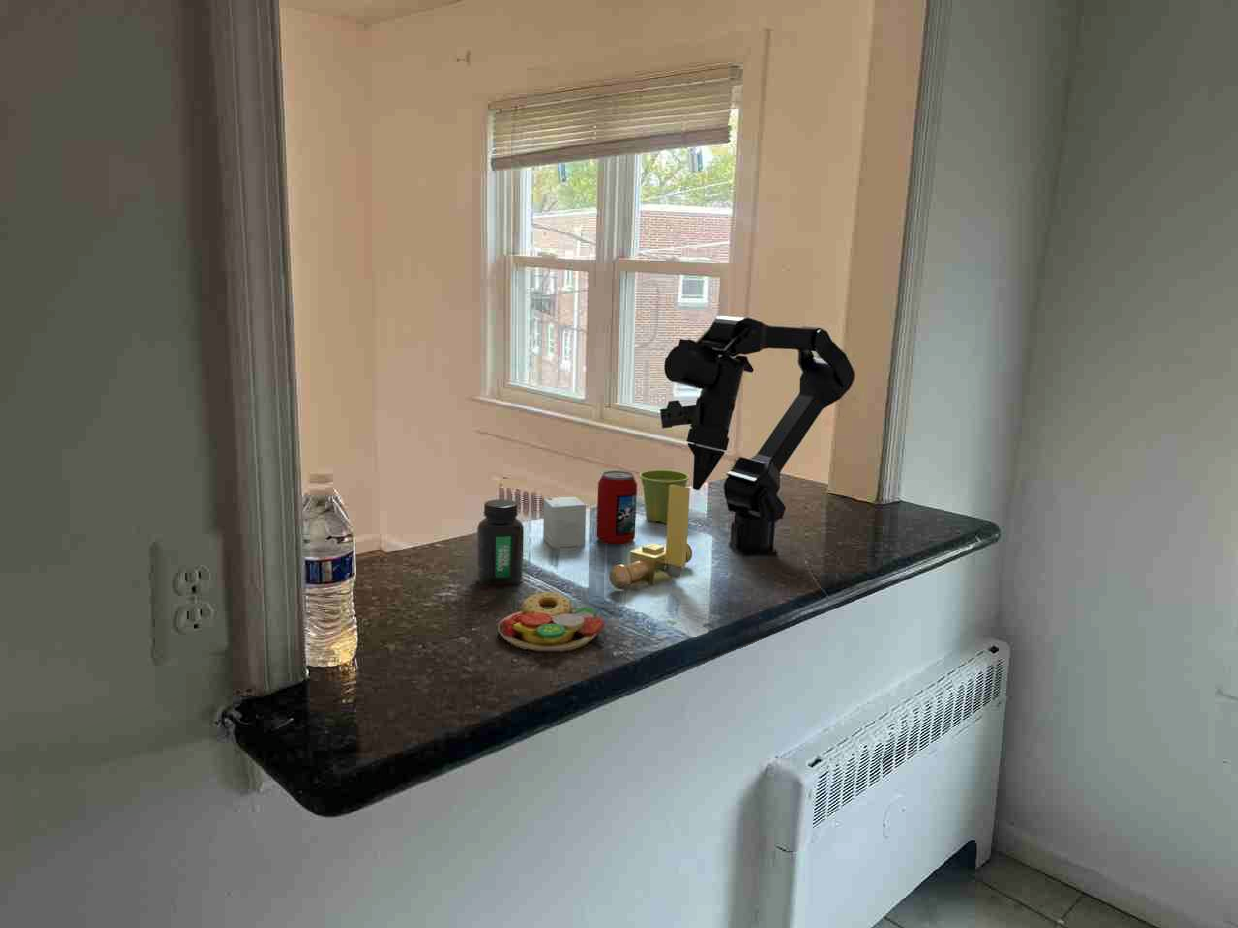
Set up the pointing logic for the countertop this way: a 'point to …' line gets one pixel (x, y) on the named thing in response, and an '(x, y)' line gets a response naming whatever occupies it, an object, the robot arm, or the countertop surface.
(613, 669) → the countertop surface
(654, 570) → the valve body
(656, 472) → the plant pot
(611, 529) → the beverage can
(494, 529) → the supplement bottle
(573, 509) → the skincare box
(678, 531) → the lever
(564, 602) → the toy food set
